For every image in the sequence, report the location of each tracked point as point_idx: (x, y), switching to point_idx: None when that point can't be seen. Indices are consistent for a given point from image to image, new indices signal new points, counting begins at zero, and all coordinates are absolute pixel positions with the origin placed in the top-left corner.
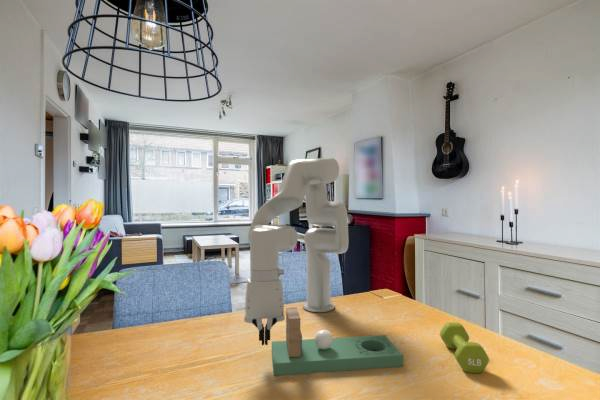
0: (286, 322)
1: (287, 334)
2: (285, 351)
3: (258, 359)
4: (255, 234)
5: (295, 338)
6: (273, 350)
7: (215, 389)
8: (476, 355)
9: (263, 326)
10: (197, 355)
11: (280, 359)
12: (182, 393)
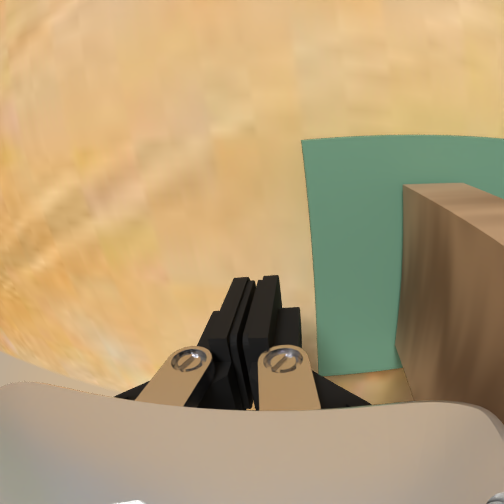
0: (474, 277)
1: (433, 336)
2: (388, 278)
3: (237, 218)
4: None
5: None
6: (320, 263)
7: (141, 382)
8: None
9: (234, 404)
10: (12, 192)
11: (353, 349)
12: (79, 377)
